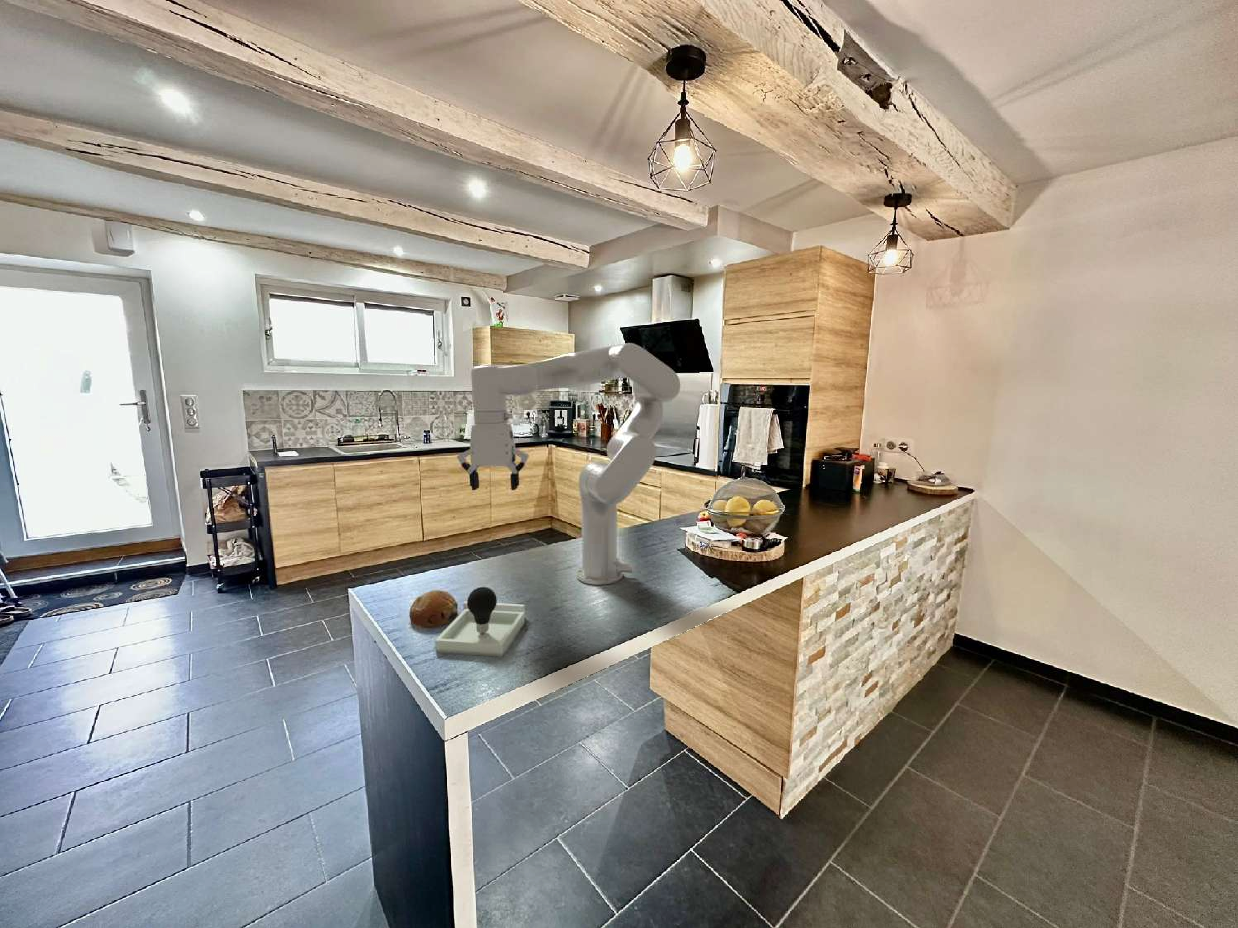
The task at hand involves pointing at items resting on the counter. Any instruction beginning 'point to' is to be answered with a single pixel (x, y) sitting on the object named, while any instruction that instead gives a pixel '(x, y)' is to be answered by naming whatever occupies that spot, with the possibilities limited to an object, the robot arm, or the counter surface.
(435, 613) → the bread roll
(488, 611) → the light bulb
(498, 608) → the white flat bar
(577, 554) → the counter surface
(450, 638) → the dish
